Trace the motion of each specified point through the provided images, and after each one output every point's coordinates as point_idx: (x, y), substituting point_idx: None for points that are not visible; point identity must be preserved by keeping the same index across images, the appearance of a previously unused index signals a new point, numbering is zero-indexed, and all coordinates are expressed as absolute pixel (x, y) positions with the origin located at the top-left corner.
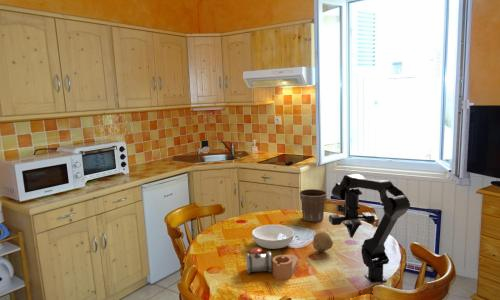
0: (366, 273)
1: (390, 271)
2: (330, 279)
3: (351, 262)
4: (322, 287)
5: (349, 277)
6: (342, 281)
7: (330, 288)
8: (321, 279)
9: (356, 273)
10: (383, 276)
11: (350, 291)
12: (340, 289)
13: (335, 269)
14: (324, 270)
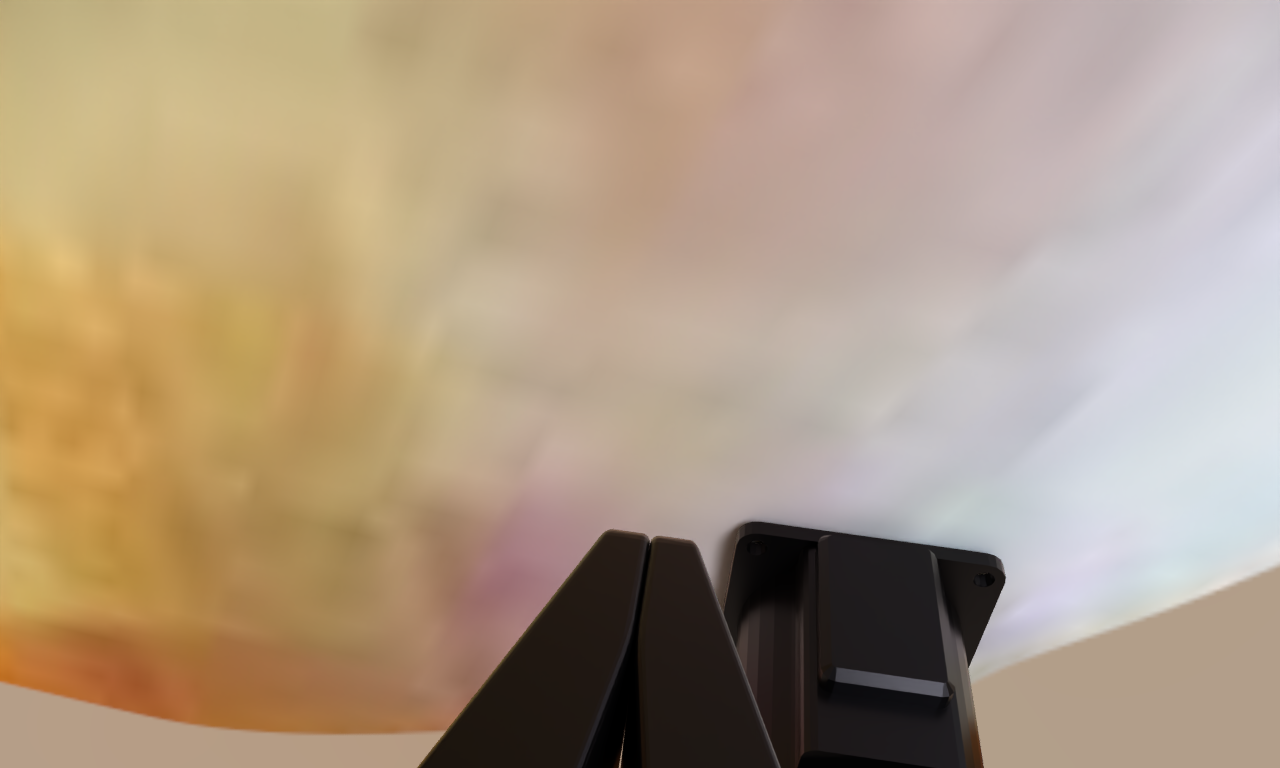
0: (767, 541)
1: (1240, 548)
2: (166, 475)
3: (746, 54)
4: (44, 588)
5: (469, 507)
6: (333, 556)
7: (145, 626)
8: (29, 441)
9: (630, 448)
10: (969, 660)
11: (375, 722)
12: (266, 669)
13: (300, 238)
14: (84, 216)
